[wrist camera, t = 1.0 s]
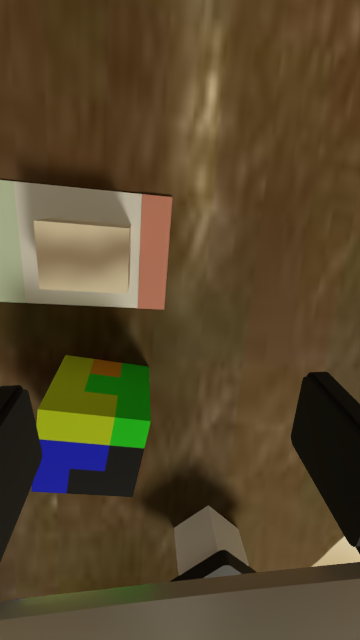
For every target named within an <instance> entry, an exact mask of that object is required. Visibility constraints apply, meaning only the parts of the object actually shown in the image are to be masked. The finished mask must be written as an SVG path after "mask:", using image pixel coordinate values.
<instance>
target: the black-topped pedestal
mask: <svg viewBox="0 0 360 640" xmlns="http://www.w3.org/2000/svg"><path fill="white" fill-rule="evenodd" d="M174 533H175V544H176V555H177V565H178V577H176V578H175V579H173V580H171V581H170V582H174V581H183V580H192V579H202V578H211V577H220V576H230V575H239V574H248V573H257V572H256V571H254V570H253V569H252V568H250V567H249V564H248V561H247V558H246V554H245V551H244V547H243V544H242V540H241V537H240V534H239V530H238V528H236V527H235V526H234V525H233V524H231V523H230V522H229V521H228V520H226V519H225V518H224V517H223V516H221V515H220V514H219V513H217V512H216V511H215V510H214V509H212V508H211V507H210V506H209V505H208V506H206V507H205V508H203V509H202V510H200V511H199V512H197V513H196V514H194V515H193V516H191V517H190V518H188V519H187V520H185V521H184V522H182V523H181V524H179V525H178V526H176V527H175V528H174Z"/></svg>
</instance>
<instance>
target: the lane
mask: <svg viewBox="0 0 360 640" xmlns="http://www.w3.org/2000/svg"><path fill="white" fill-rule="evenodd" d="M141 215H142V194H136V193H126V192H116V191H106V190H96V189H86V188H76V187H66V186H55V185H45V184H35V183H25V182H15V181H5V180H0V302H17V303H39V304H61V305H83V306H105V307H127V308H138V292H139V266H140V241H141ZM46 218H56V219H68V220H80V221H92V222H103V223H115V224H127V225H131V253H130V283H129V289H128V294H126V293H107V292H88V291H68V290H49V289H39V278H38V266H37V255H36V243H35V232H34V220H39V219H46Z"/></svg>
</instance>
